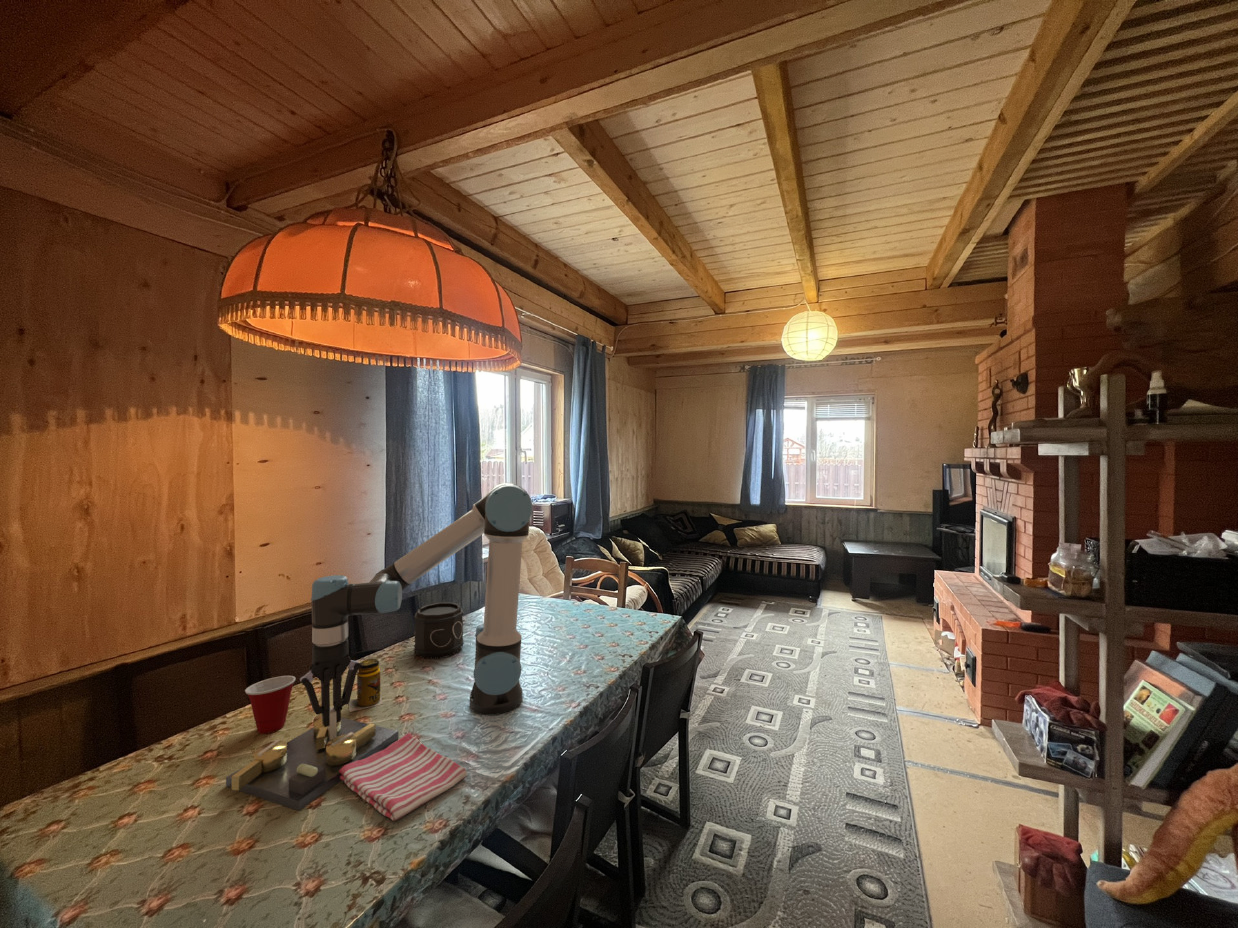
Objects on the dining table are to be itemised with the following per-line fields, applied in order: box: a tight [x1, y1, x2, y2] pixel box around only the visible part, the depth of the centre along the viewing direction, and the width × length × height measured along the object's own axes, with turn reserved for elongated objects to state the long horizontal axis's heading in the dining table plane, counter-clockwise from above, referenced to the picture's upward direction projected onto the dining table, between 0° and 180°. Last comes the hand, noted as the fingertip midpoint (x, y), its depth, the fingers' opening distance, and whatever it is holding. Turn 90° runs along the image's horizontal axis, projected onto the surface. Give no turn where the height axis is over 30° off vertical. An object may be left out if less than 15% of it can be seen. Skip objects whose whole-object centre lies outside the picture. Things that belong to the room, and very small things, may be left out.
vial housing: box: [289, 764, 325, 795], centre depth 99 cm, size 5×5×4 cm
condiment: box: [348, 658, 384, 713], centre depth 137 cm, size 7×8×12 cm
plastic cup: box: [244, 675, 296, 735], centre depth 124 cm, size 11×11×12 cm
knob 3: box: [326, 723, 376, 765], centre depth 110 cm, size 12×6×4 cm, turn 161°
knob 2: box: [312, 714, 341, 750], centre depth 116 cm, size 12×6×4 cm, turn 23°
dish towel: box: [339, 732, 468, 821], centre depth 103 cm, size 17×23×4 cm
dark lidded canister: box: [413, 602, 465, 660], centre depth 175 cm, size 18×18×16 cm
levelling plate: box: [225, 717, 399, 812], centre depth 110 cm, size 22×26×2 cm
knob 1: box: [231, 739, 288, 791], centre depth 102 cm, size 12×6×4 cm, turn 175°
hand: (331, 737), depth 114 cm, fingers closed
